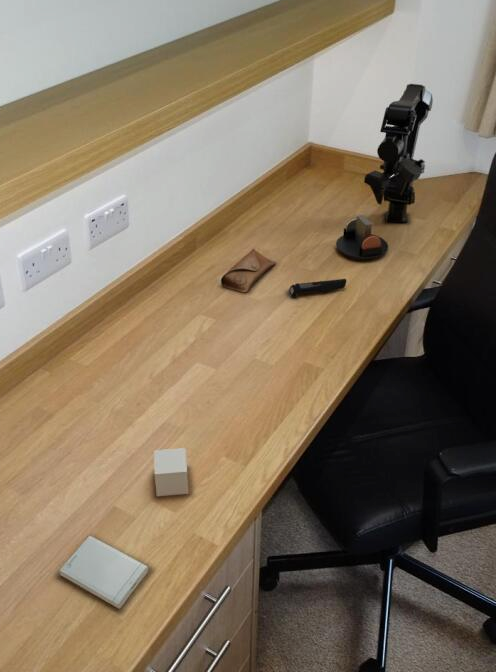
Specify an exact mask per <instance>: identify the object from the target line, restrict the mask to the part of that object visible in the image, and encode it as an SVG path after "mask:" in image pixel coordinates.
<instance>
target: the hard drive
mask: <svg viewBox="0 0 496 672" xmlns="http://www.w3.org/2000/svg"><path fill="white" fill-rule="evenodd" d="M148 572H149V566H148V565H146V564H144V563H142V562H141V561H139V560H137V559H135V558H133V557H131V556H130V555H127V554H125V553H124V552H122V551H121V550H118V549H117V548H115V547H113V546H111V545H109V544H107V543H105V542H103V541H101V540H100V539H98V538H96V537H94V536H92V535H89V536H88V537H87V538H86V539H85V540H84V541H83V542H82V544H81V545H80V546H79V547H78V548H76V550H75V551H74V552H73V554H72V555H71V556H70V557H69V558H68V559H67V560H66V562H65V563H64V564H63V565H62V566H61V568H60V569H59V575H60V576H62V577H63V578H65V579H67V580H69V581H70V582H72V583H73V584H74V585H77V586H78V587H80V588H81V589H84V590H85V591H87V592H89V593H90V594H93V595H94V596H96V597H98V598H99V599H101V600H103V601H104V602H107V603H108V604H110V605H112V606H114V607H115V608H117V609H121V608H122V607H123V606H124V604H125V603H126V601H128V598H129V597H130V596H131V595H132V594H133V592H134V591H135V589H136V588H137V587H138V586H139V584H140V583H141V581H142V580H143V579H144V577H146V575H147V573H148Z"/></svg>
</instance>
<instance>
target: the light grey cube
mask: <svg viewBox="0 0 496 672" xmlns="http://www.w3.org/2000/svg"><path fill="white" fill-rule="evenodd" d="M153 462H154V464H153V465H154V467H153V469H154V482H155V491H156V492H155V493H156V497H165V496H179V495H189V479H188V466H187V451H186V447H180V448H167V449H155V450H153Z"/></svg>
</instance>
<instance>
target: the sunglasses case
mask: <svg viewBox="0 0 496 672" xmlns="http://www.w3.org/2000/svg"><path fill="white" fill-rule="evenodd" d="M275 265H276V262H273V261H272V260H270V259H269V258H268V257H266V256H265V255H263V254H261V253H260V252H259V251H258V250H256V249H255V247H254V248H251V250H250V251H249V252H248V253H247V254H245V255H244V256H243V257H242V258H240V260H238V261H237V262H236V263H235V264H234V265H233V266H232V267H230V269H229V270H228V271H226V272H225V274H223V275H222V277H221V279H220V283H221V285H222V286H223V287H224V288H226V289H229V290H231V291H235V292H241V293H247V292H249V291H250V289H251V288H252V287H253V285H254V284H256V282H257V281H259V280H260V279H261V278H262V277H263V276H264V275H265V274H266V273H267V272H268V271H269V270H271V269H272V268H273V267H274V266H275Z"/></svg>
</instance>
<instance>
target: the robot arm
mask: <svg viewBox="0 0 496 672" xmlns="http://www.w3.org/2000/svg"><path fill="white" fill-rule="evenodd" d="M433 102H434V101H433V94H432V93H431V92H430V91H429V90H427V89H426V85H423V84H419V83H409V84H406V87H405V90H403V94H402V95H401V97H400V98H399V99H398V100H396V101H395V100H394V101H392V102H390V103H389V105H388V106H386V107H385V109H384V110H385V111H384V114H383V119H382V123H381V127H380V133H384V134H385V136H384V138H383V140H382V141H381V142H380V144H379V145H378V147H377V150H376V152H377V156H378V158H379V159H380V160H381V161H383V163H382V164H380V166H379V169H380V170H382V171H383V172H381V171H378V170H372V171H370V172H368V173H367V174H365V175H364V179H363V183H364V184H366V185H368V186H369V187H370V189H371V191H372V193H373V195H374V198H375V201H376V203H377V205H379V206H381V205H382V204H383V201H384V202H388V207H387V211H385V222H388V223H403V224H404V223H405V224H406V223H408V222H409V221H408V220H409V219H408V213H407V211H408V206H411V205H413V204H415V202H416V191H415V187H414V181H417V180H419V178H420V177H421V175H422V174H424V173H425V169H426V162H425V160H424V159H422V158H421V159H418V160H417V159H414V155H415V151H416V146H417V141H418V139H419V138H418V137H419V132H420V128H421V125H422V124H423V122H424V121H426V119H427V118H428V115H429V112H431V111H432V108H433Z"/></svg>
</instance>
